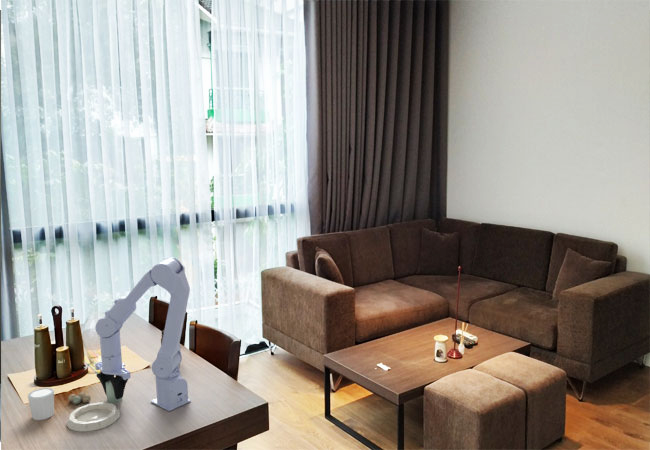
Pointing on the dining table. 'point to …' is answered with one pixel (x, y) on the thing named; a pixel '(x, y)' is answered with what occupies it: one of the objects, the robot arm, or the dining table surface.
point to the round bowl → (93, 417)
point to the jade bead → (111, 394)
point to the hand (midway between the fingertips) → (114, 396)
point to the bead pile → (79, 398)
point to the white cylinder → (41, 403)
